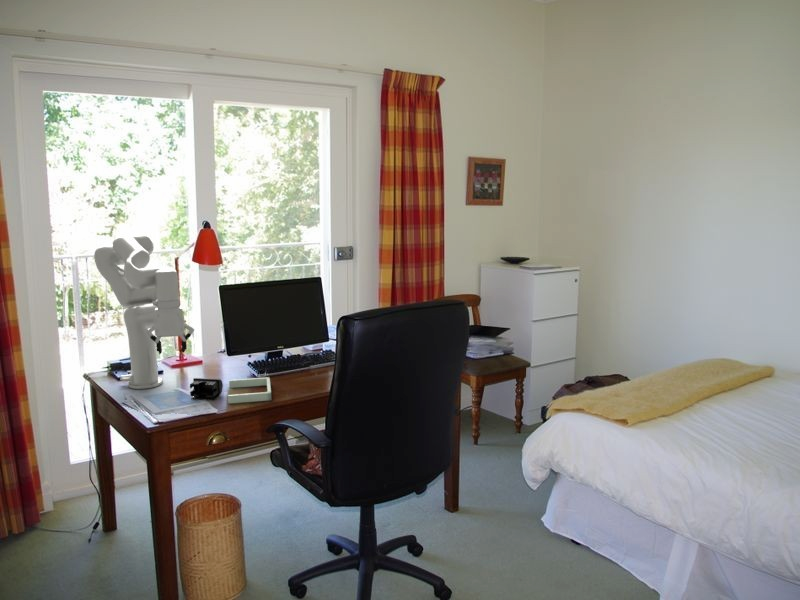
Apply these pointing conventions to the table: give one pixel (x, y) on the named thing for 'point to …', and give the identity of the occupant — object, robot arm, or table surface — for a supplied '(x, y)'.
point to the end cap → (206, 389)
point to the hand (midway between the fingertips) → (172, 351)
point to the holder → (250, 396)
